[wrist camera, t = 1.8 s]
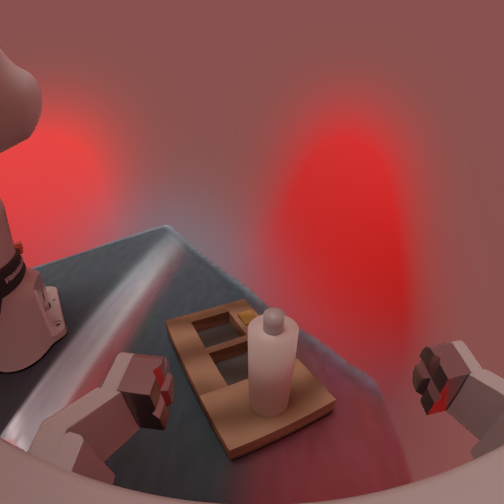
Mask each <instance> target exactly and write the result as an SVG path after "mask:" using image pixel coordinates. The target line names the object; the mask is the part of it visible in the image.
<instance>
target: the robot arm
mask: <svg viewBox="0 0 504 504" xmlns="http://www.w3.org/2000/svg"><path fill="white" fill-rule="evenodd" d="M41 110H42V95H41V90H40V87H39V85H38V83H37V81H36V79H35V78H34V77H33V76H32V75H31V74H30V73H29V72H27V71H25V70H23V69H21V68H19V67H18V66H16V65H15V64H13V63H12V62H11V61H10V60H9V59H8V58H7V57H6V56H5V54H4V53H3V51H2V50H1V48H0V153H2V152H4V151H5V150H7V149H9V148H11V147H13V146H15V145H17V144H18V143H20V142H22V141H24V140H26V139H28V138H29V137H30V136H31V134H32V133H33V131H34V130H35V128H36V126H37V124H38V121H39V118H40V115H41ZM22 253H23V247H22V243H21V242H20V241H19V242H16V243H13V240H12V236H11V232H10V228H9V224H8V220H7V216H6V211H5V207H4V204H3V202H2V201H1V199H0V371H1V372H14V371H18V370H21V369H24V368H26V367H28V366H30V365H31V364H33V363H35V362H36V361H37V360H39V359H40V358H41V357H42V356H43V355H44V354H45V353H46V352H47V350H48V349H49V348H50V347H51V345H52V344H53V343H54V342H56V341H57V340H59V339H60V338H62V337H63V336H64V335H65V334H66V333H67V328H66V324H65V320H64V315H63V311H62V307H61V302H60V297H59V293H58V290H57V288H56V287H49V286H46V287H45V285H44V283H43V280H42V277H41V275H40V273H39V272H38V271H36V270H33V269H30V268H28V267H26V266H25V263H24V262H23V258H22V256H21V255H20V254H22ZM420 357H421V361H420V362H419V363H418V364H417V365H416V366H415V369H414V371H413V385H414V388H415V390H416V392H418V393H419V394H421V395H422V397H421V403H422V406H423V408H424V410H425V412H426V415H430V414H434V413H439V412H442V411H446V410H447V413H449V414H450V415H451V416H452V417H453V418H455V419H456V420H457V421H458V422H459V423H460V424H462V425H463V426H464V427H465V428H466V429H467V430H469V431H470V432H471V433H472V434H473V435H474V436H476V437H477V438H478V439H479V442H478V443H477V444H476V445H475V446H474V447H473V448H472V450H471V453H472V455H473V458H474V460H472V461H469V462H467V463H465V464H462V465H460V466H458V467H455V468H453V469H450V470H447V471H445V472H442V473H440V474H437V475H434V476H431V477H428V478H425V479H422V480H419V481H416V482H413V483H409V484H406V485H402V486H399V487H395V488H391V489H387V490H383V491H379V492H374V493H370V494H365V495H360V496H354V497H348V498H342V499H336V500H328V501H320V502H311V503H299V504H504V379H503V378H501V377H499V376H497V375H495V374H493V373H492V372H490V371H488V370H486V369H485V370H483V369H482V368H481V366H480V365H479V363H478V362H477V361H476V359H475V357H474V356H473V355H472V353H471V352H470V350H469V349H468V348H467V346H466V345H465V343H464V342H462V341H460V340H458V341H454V342H449V343H444V344H438V345H433V346H427V347H425V348H424V349H423V350H422V352H421V354H420ZM168 369H169V363H168V360H167V358H165V357H160V356H151V355H142V354H132V353H125V352H121V353H119V354H118V355H117V357H116V359H115V361H114V363H113V365H112V367H111V369H110V371H109V373H108V375H107V377H106V379H105V381H104V383H103V385H102V387H101V388H95V389H94V390H92V391H91V392H89V393H88V394H86V395H84V396H83V397H81V398H80V399H78V400H77V401H75V402H73V403H72V404H70V405H69V406H67V407H65V408H64V409H62V410H61V411H59V412H57V413H56V414H54V415H53V416H51V417H49V418H48V419H46V420H45V421H43V423H42V425H41V427H40V429H39V431H38V432H37V434H36V436H35V438H34V440H33V442H32V444H31V446H30V448H29V450H28V452H26V451H24V450H22V449H20V448H18V447H16V446H14V445H12V444H11V443H9V442H7V441H5V440H3V439H2V438H0V504H219V503H207V502H197V501H189V500H182V499H175V498H169V497H163V496H158V495H153V494H148V493H143V492H139V491H134V490H130V489H126V488H122V487H119V486H115V485H113V482H114V478H115V475H114V473H113V472H112V471H111V469H110V468H109V467H108V466H107V465H106V464H105V463H104V461H105V460H107V459H108V458H109V457H110V456H111V455H112V454H113V453H114V452H115V451H116V450H117V449H118V448H120V447H121V446H122V445H123V444H124V443H125V442H126V441H127V440H128V439H129V438H130V437H131V436H132V435H133V434H134V433H136V432H137V431H138V430H139V429H140V428H139V427H142V428H149V429H157V430H165V428H166V424H167V420H168V417H169V412H168V409H167V407H168V406H169V405H170V404H172V401H173V397H174V380H173V377H172V375H171V374H170V373H169V372H168Z"/></svg>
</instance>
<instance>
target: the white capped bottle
mask: <svg viewBox="0 0 504 504" xmlns="http://www.w3.org/2000/svg"><path fill="white" fill-rule="evenodd" d="M298 333H299V328H298V325H297V324H296V322H295V321H294V320H292V319H291V318H289V317H287V316H285V314H284V312H283V311H282V310H281V309H279V308H269V309H266V310H265V311H264V313H263V315H260V316H258V317H256V318H254V319H253V320H252V321H251V322H250V323H249V325H248V393H249V406H250V408H251V409H252V411H253V412H255V413H256V414H258V415H260V416H263V417H274V416H277V415H280V414H281V413H283V412H284V411H285V410H286V408H287V406H288V402H289V396H290V390H291V383H292V376H293V370H294V363H295V355H296V348H297V341H298Z"/></svg>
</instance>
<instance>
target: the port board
mask: <svg viewBox="0 0 504 504" xmlns="http://www.w3.org/2000/svg"><path fill="white" fill-rule="evenodd" d="M258 316H259V315H258V314H257V313H256V312H255V311H254V310H253V308H252V307H251V306H250V305H249V304H248V303H247V302H246V300H245V299H241V300H238V301H234V302H231V303H228V304H224V305H221V306H217V307H214V308H210V309H206V310H203V311H199V312H196V313H192V314H188V315H185V316H181V317H177V318H173V319H170V320H166V321H165V324H166V328H167V333H168V336H169V338H170V341H171V343H172V345H173V348H174V350H175V352H176V355H177V357H178V359H179V361H180V363H181V366H182V368H183V370H184V372H185V374H186V377H187V379H188V381H189V383H190V385H191V387H192V389H193V391H194V393H195V395H196V397H197V399H198V401H199V403H200V405H201V407H202V409H203V411H204V413H205V415H206V417H207V419H208V421H209V423H210V425H211V426H212V428H213V430H214V432H215V434H216V436H217V437H218V439H219V441H220V443H221V445H222V446H223V448H224V450H225V452H226V453H227V455H228V457H229V459H230V460H233V459H236V458H238V457H241V456H243V455H246V454H248V453H251V452H253V451H255V450H258V449H260V448H262V447H264V446H267V445H269V444H271V443H273V442H275V441H277V440H280V439H282V438H284V437H286V436H288V435H290V434H292V433H294V432H296V431H298V430H300V429H302V428H304V427H305V426H307V425H309V424H311V423H313V422H315V421H317V420H318V419H320V418H322V417H324V416H326V415H327V414H329V413H331V412H332V409H333V406H334V404H335V401H336V399H335V398H334V397H333V396H332V395H331V394H330V393H329V392H328V391H327V390H326V389H325V387H324V386H323V385H322V384H321V383H320V382H319V381H318V380H317V379H316V378H315V377H314V376H313V375H312V374H311V373H310V371H309V370H308V369H307V368H306V367H305V366H304V365H303V364H302V363H301V362H300V361H299V360H298V358H297V357H296V356H295V363H294V370H293V376H292V383H291V390H290V396H289V402H288V406H287V408H286V410H285V411H284V412H283V413H281V414H280V415H277V416H274V417H263V416H260V415H258V414H256V413H255V412H253V411H252V409H251V408H250V406H249V393H248V325H249V323H250V322H251V321H252V320H253V319H254V318H256V317H258Z"/></svg>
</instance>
